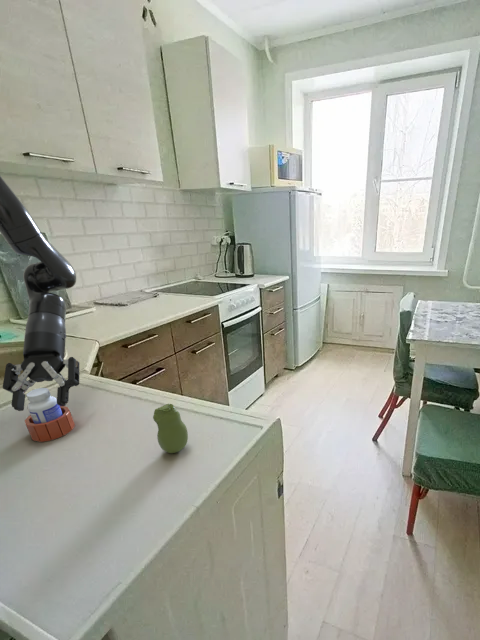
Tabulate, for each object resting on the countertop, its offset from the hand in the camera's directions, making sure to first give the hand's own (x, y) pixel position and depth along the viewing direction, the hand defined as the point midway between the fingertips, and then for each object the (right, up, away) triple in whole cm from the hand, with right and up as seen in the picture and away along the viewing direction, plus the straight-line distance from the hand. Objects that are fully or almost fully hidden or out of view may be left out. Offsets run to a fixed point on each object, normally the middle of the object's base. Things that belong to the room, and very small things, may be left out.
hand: (40, 407), depth 74 cm
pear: (+30, -8, -4) cm, 31 cm away
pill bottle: (0, -6, +4) cm, 7 cm away
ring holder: (0, -5, +4) cm, 7 cm away
